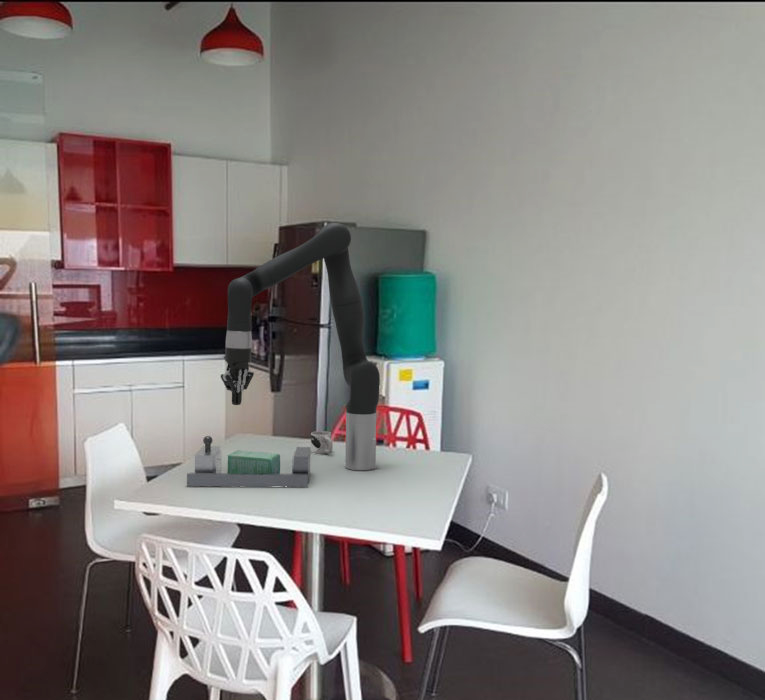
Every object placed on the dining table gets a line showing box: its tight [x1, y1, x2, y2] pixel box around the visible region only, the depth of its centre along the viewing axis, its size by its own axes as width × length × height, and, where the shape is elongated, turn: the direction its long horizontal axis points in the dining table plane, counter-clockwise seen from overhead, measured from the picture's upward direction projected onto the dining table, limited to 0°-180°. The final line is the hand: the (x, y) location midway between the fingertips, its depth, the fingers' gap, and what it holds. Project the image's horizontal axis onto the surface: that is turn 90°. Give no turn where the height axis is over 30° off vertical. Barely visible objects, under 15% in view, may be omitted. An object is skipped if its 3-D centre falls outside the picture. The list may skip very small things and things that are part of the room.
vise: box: [186, 446, 312, 488], centre depth 208 cm, size 33×15×8 cm, turn 93°
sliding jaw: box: [194, 435, 223, 473], centre depth 209 cm, size 6×12×12 cm, turn 3°
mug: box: [310, 430, 333, 455], centre depth 242 cm, size 10×7×7 cm
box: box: [227, 450, 281, 474], centre depth 209 cm, size 7×14×8 cm, turn 78°
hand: (236, 404), depth 215 cm, fingers closed
